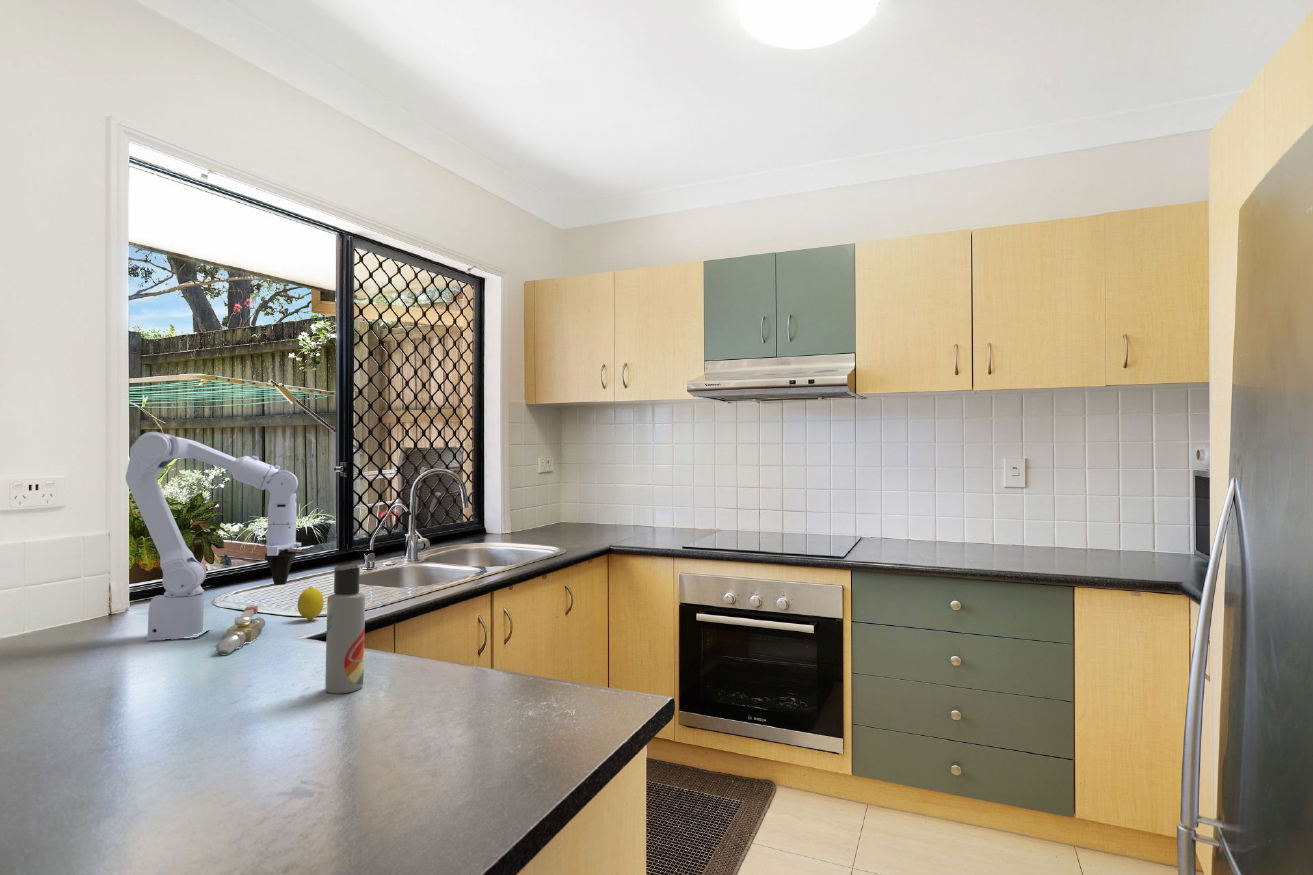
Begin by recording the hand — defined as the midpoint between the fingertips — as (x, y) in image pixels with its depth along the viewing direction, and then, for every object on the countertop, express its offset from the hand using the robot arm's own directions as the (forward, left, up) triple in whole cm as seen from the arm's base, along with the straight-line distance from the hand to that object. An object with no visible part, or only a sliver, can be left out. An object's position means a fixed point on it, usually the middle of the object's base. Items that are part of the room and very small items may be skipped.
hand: (280, 584), depth 158 cm
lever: (-5, -6, -6) cm, 10 cm away
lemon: (+5, +7, -10) cm, 14 cm away
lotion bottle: (+22, -51, -10) cm, 56 cm away
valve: (-4, -12, -10) cm, 16 cm away
